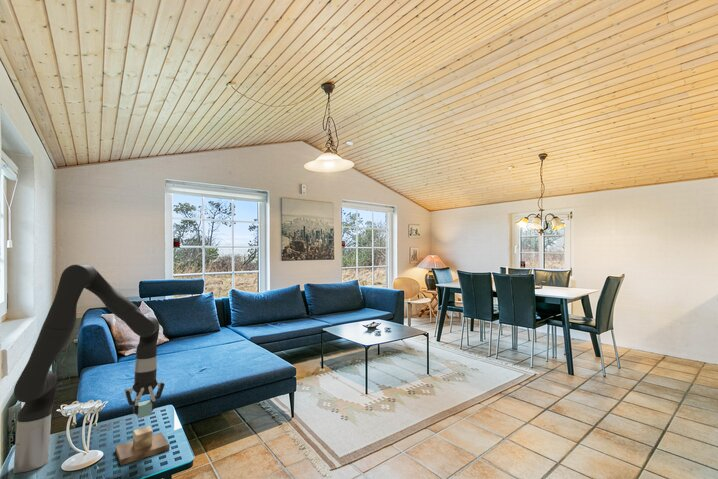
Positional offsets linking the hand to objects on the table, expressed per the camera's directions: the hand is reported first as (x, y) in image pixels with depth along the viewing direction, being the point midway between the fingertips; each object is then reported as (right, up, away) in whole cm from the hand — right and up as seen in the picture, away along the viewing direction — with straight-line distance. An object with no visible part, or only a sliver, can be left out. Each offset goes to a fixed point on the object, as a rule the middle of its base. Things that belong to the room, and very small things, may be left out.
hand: (144, 412), depth 136 cm
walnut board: (0, -15, -1) cm, 14 cm away
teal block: (0, -1, 0) cm, 1 cm away
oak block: (0, -13, -1) cm, 13 cm away
